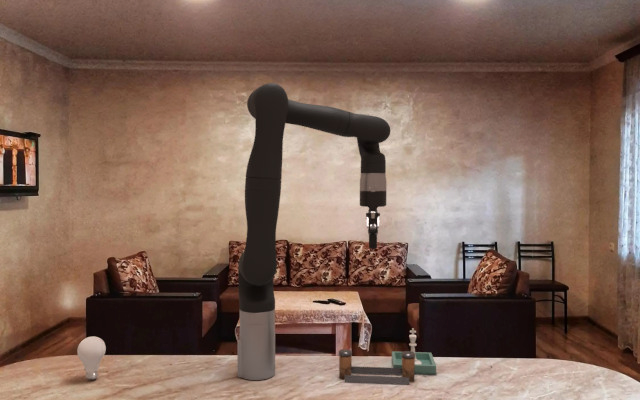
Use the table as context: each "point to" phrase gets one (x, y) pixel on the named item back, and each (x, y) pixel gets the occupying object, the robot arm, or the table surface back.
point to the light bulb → (91, 355)
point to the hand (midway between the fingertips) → (372, 246)
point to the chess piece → (413, 345)
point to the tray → (424, 369)
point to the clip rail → (376, 370)
